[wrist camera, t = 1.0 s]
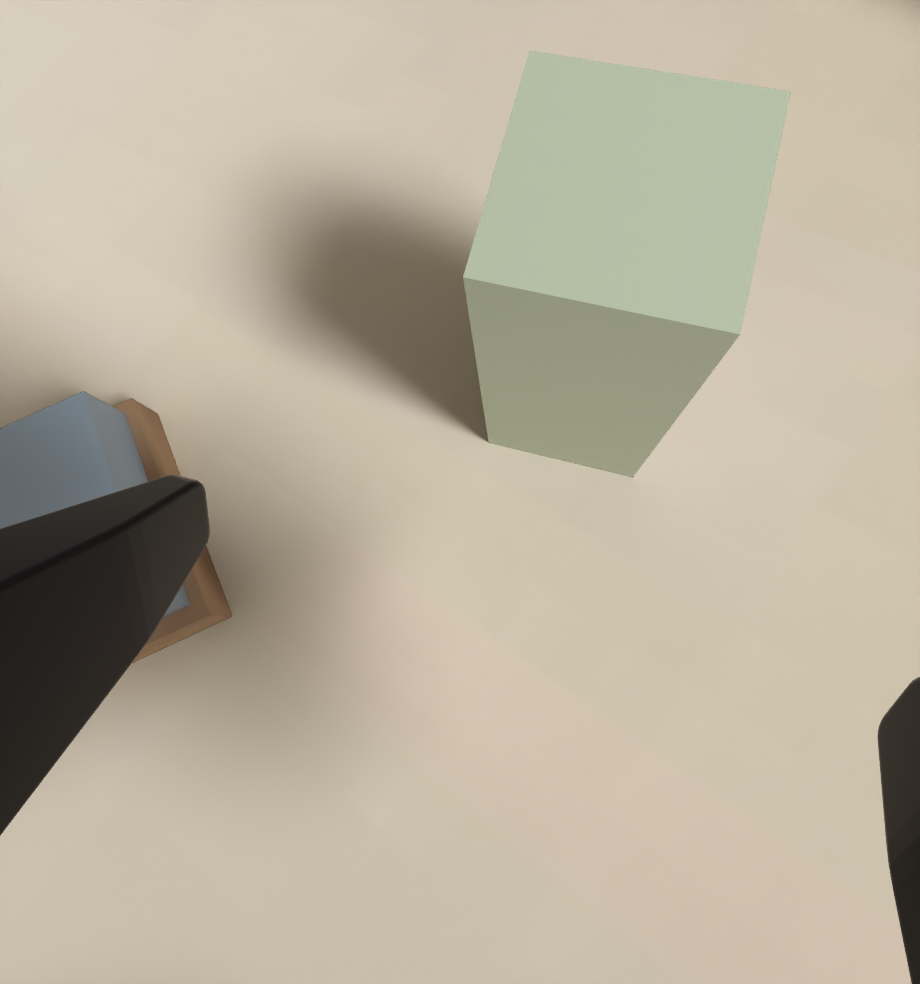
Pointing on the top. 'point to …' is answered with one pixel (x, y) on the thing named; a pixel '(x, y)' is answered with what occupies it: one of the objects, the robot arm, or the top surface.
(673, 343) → the sage block
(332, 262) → the top surface
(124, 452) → the slate top block
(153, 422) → the walnut base block
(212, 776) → the top surface
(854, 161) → the top surface
